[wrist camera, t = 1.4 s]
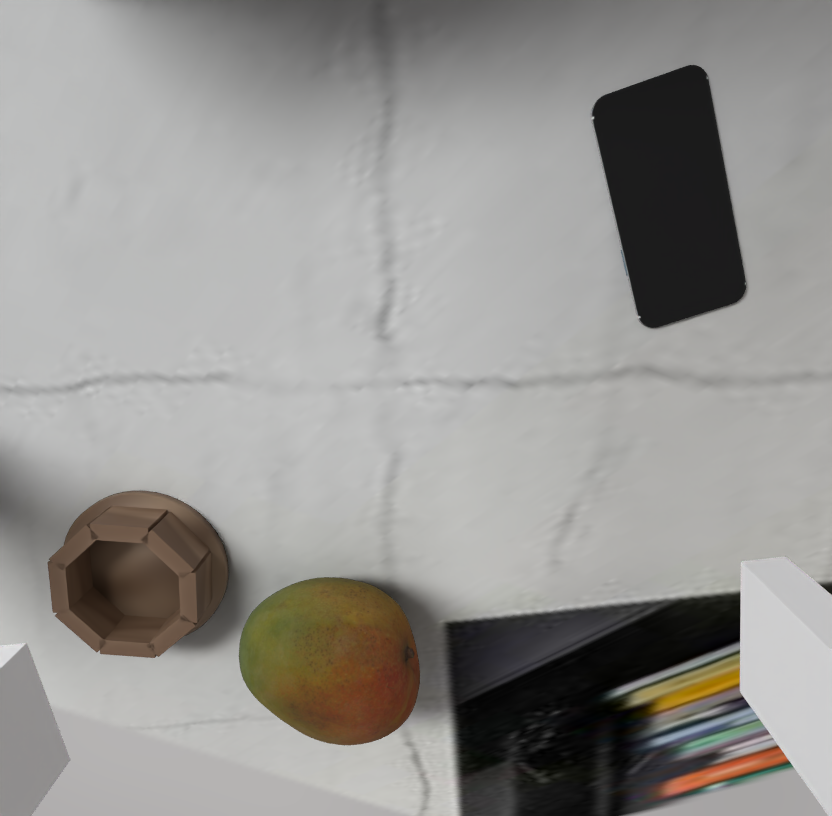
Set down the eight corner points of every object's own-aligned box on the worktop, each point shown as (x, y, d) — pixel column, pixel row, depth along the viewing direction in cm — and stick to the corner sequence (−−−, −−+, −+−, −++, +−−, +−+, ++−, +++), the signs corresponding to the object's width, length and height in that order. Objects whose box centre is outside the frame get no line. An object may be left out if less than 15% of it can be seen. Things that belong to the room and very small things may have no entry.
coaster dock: (35, 557, 44) (0, 584, 41) (142, 458, 42) (115, 477, 38) (154, 662, 46) (130, 696, 43) (261, 573, 44) (246, 601, 40)
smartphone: (705, 58, 35) (749, 298, 38) (700, 62, 35) (744, 297, 39) (587, 100, 35) (641, 332, 39) (584, 103, 36) (637, 331, 39)
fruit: (434, 664, 46) (435, 771, 36) (285, 695, 47) (249, 807, 37) (396, 535, 43) (387, 615, 34) (239, 571, 44) (187, 658, 35)
